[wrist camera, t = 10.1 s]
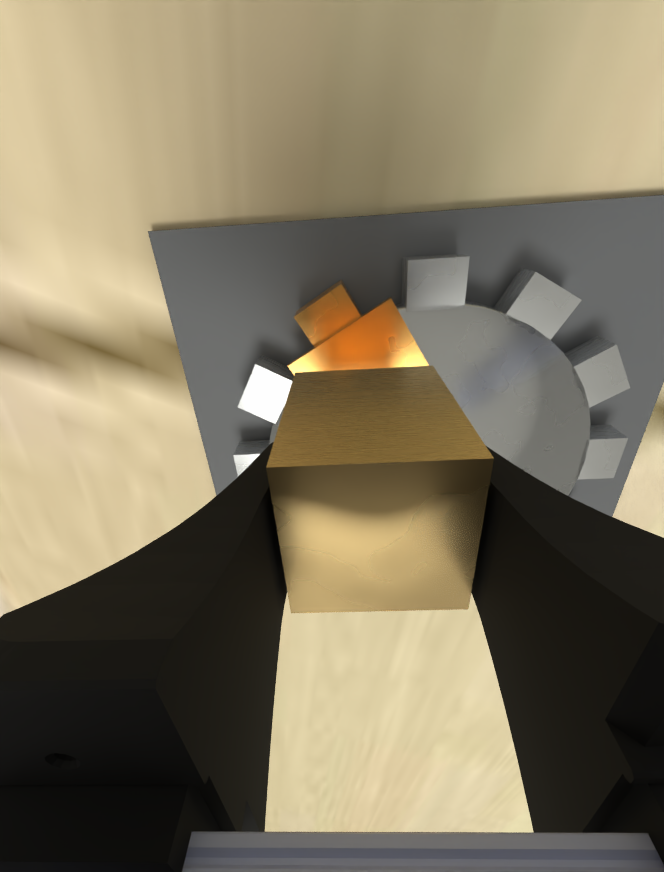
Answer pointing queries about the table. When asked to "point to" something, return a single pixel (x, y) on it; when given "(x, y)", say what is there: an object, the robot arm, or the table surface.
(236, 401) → the plate
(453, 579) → the brushed gold block
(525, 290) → the sprocket
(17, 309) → the table surface
